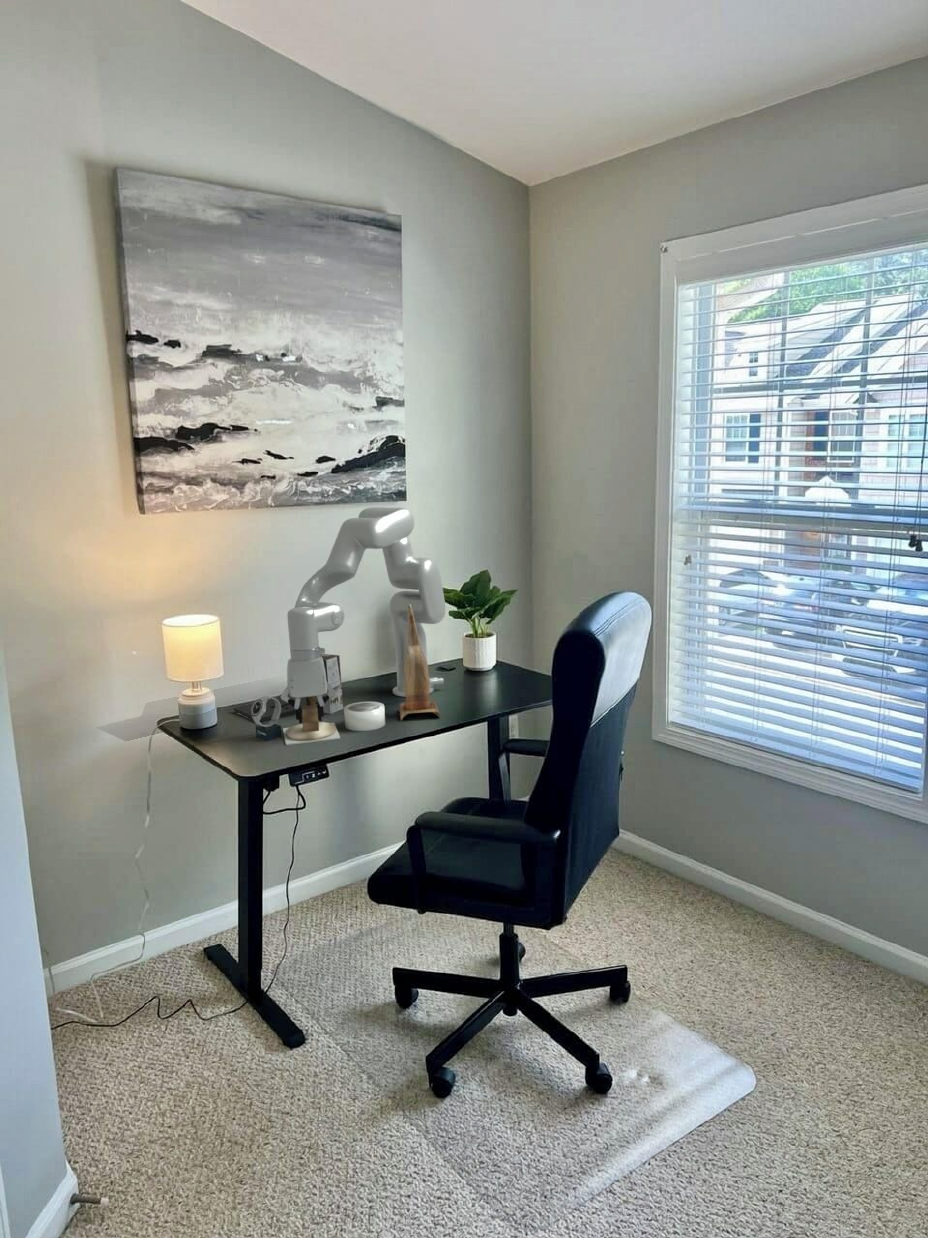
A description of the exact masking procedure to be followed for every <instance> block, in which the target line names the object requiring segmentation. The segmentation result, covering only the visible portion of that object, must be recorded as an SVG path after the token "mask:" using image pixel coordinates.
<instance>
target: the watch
mask: <svg viewBox="0 0 928 1238" xmlns="http://www.w3.org/2000/svg"><path fill="white" fill-rule="evenodd" d="M276 698H277V697H273V696H270V695H264V696H261V697H259V698H257V699H255V701H254V702H253V705H252V707H251V715H252V718H253V720H254V721H253V720H252V721H253V722H254V723H255V724H256V725H255V735H256V738H258V737H259V738H258V739H261V740H264V741H267V742H269V741H272V740H276V739H279V738H283V737H282V736H283V735H282V725H281V724H277V723H278V722H279V719H280V718H279V717H280V713H281V704H280V702H279V701H278V700H277V699H276ZM269 699H273V700H274V702H275V704H276V705H275V709H274V713H273V716H272V718H271V719H272V720H271V721H267V722H263V723H260V722H259V720H260V719H261V716H262V715H263V714H264V712H265V711H266V703H267V700H269Z"/></svg>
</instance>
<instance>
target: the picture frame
mask: <svg viewBox="0 0 928 1238" xmlns="http://www.w3.org/2000/svg"><path fill="white" fill-rule="evenodd" d="M281 695H282V693H281V694H280V695H279V696H278V697H275V698H276V699H277V700H278V701H279V702H280V704H281V713H280V717H279V719H283V718H286V717H289V716H294V714H295V715H296V712H295V708H294V707H293V706H291V705H290V704H289V703H288V702H286V701H284V700H282V699H281ZM287 696H288V697H289V698H292V697H290V695H289V694H288V695H287ZM292 699H293V700H294V699H295V698H292ZM253 703H254V702H253ZM253 703H249V704H245V705H240V706H236V707H235V706H234V707H233V712H234V711H235V712H237V713H240V714H242V715H244V716H246V717H248V718H250V719H251V721H253V718H252V715H251V707H252V705H253ZM275 705H276V704H275V702H274V700H273V699H272V698H271V699H267V703H266V711H265V712H264V714H263V715H262V716H261V719H260V720H259V722H260V723H261V724H263V723H267V722H271V720H272V719H271V718H272V716H273V713H274V709H275ZM299 705H300V707H301V706H307V703H306V697H304V698H300V704H299ZM301 714H302V711H301ZM246 717H245V718H246ZM248 718H247V719H248ZM250 719H249V720H250Z"/></svg>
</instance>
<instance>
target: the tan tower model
mask: <svg viewBox="0 0 928 1238" xmlns="http://www.w3.org/2000/svg"><path fill="white" fill-rule="evenodd" d="M428 665H429V663H428V659H427V660H426V657H425V655H424V653H423V650H422V648H421V645H420V642H419V638H418V633H417V628H416V624H415V619H414V615H413V611H412V606H411V604H409V605H408V647H407V651H406V656H405V660H404V679H405V696H406V697H404V698H405V699H404V700H405V702H401V703H400V704H399V706H398V712H400V713H399V717H400V721H403V719H404V718H405V717H406V716H407V715H409V714H418V713H433V714H434V715H436V716H437V717H438V718H439V719H441V713H440V712H439V708H438V705H437V702H436V701H434V700H431V693H430V688H429V677H430V674H429V666H428Z"/></svg>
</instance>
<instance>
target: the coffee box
mask: <svg viewBox="0 0 928 1238" xmlns="http://www.w3.org/2000/svg"><path fill="white" fill-rule="evenodd" d="M320 657H322V658H323V662H324V667H325V672H326V680H327V682H328V683H329V685H330V686H331V687H332V688H333V689H334V690H335V694H334V695H333V696H332V697H330V698H329V699H328V701H327V702H326V703H325V704H324V706H323V712H324V714H328V715H331V714H334V713H336V712H338V711H341V710H344V701H343V700H344V699H343V698H344V697H343V688H342V687H343V686H342V674H341V661H340V655H337V654H327V653H322V654H321V655H320ZM327 693H328V690H327ZM327 693H326V694H327ZM324 695H325V694H324ZM324 695H321V696H322V697H323V696H324ZM318 702H319V701H318V699H317V696H314V697H306V703H307V706H311V705H316V706H317V705H318Z"/></svg>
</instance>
